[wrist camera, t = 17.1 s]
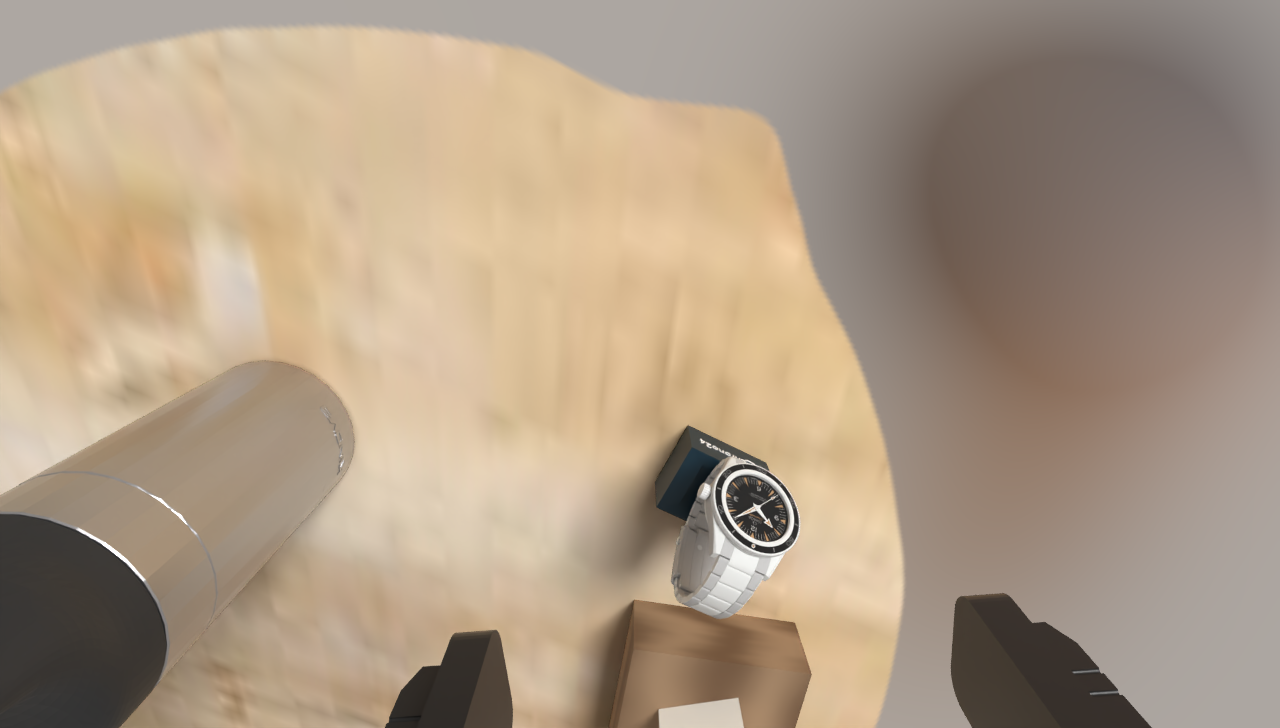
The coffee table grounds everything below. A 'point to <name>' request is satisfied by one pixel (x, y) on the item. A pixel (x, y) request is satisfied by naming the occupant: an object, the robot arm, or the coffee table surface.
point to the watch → (724, 522)
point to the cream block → (703, 715)
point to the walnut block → (709, 666)
